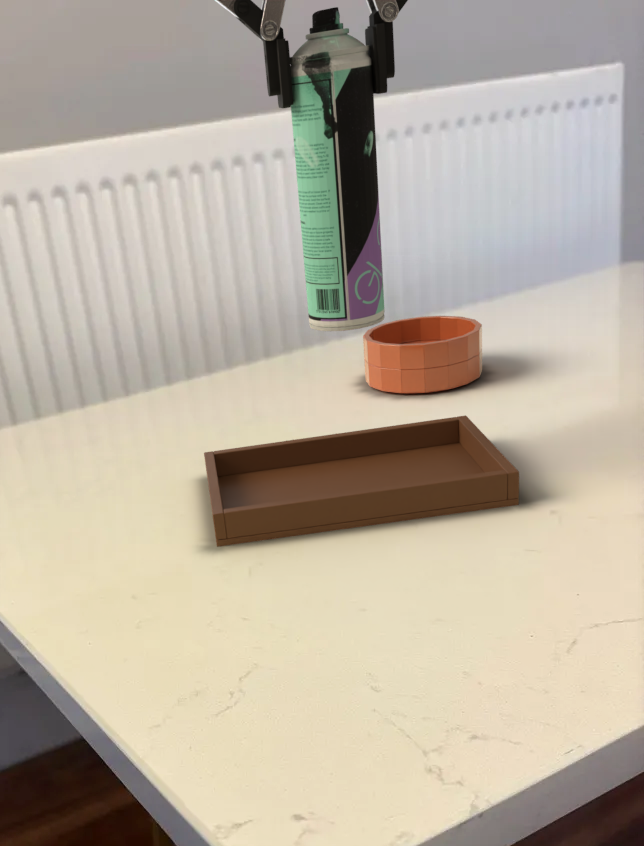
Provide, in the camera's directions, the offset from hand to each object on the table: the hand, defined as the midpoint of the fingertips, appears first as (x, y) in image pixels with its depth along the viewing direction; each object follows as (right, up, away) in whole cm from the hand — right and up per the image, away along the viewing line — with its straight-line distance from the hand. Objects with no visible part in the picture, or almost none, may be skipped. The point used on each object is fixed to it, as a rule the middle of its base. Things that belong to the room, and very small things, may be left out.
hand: (331, 97), depth 68 cm
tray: (+3, -25, +11) cm, 28 cm away
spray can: (+2, -13, +7) cm, 15 cm away
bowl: (+14, -11, +35) cm, 39 cm away
